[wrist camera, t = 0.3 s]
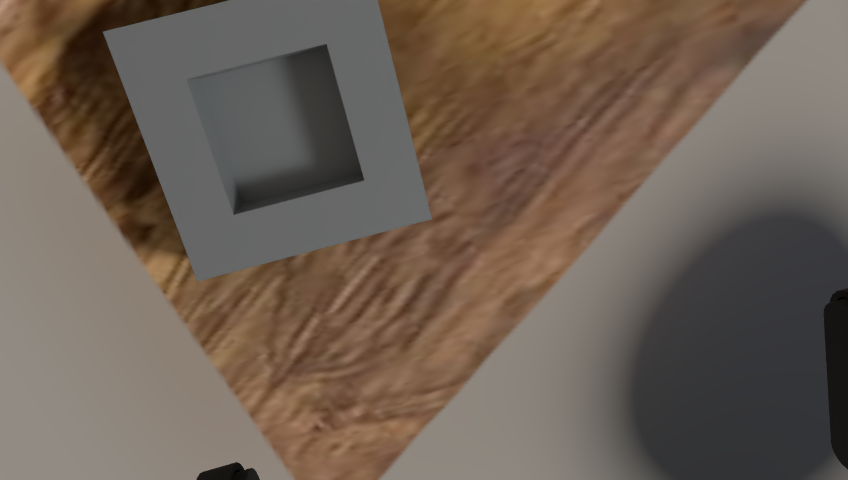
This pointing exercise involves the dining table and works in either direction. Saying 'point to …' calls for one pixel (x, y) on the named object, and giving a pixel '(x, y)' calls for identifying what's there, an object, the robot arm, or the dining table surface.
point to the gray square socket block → (272, 127)
